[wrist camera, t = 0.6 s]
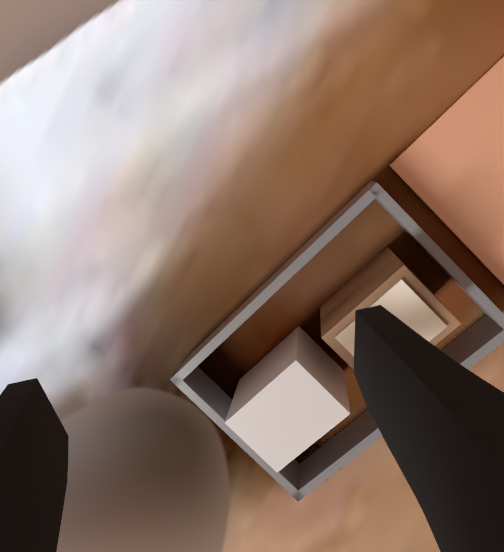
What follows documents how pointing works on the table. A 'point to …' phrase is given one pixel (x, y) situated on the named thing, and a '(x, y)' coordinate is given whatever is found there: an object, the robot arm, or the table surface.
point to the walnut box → (383, 304)
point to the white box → (289, 400)
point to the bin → (364, 428)
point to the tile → (465, 168)
